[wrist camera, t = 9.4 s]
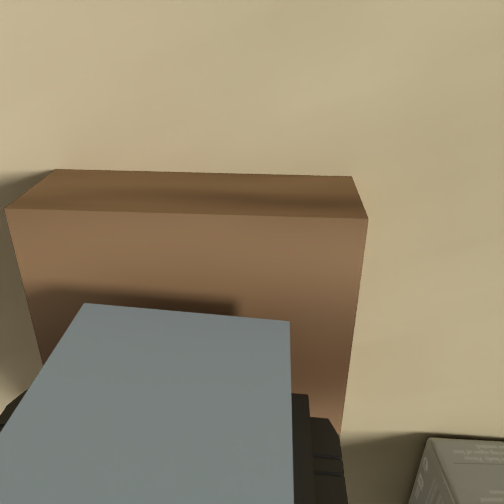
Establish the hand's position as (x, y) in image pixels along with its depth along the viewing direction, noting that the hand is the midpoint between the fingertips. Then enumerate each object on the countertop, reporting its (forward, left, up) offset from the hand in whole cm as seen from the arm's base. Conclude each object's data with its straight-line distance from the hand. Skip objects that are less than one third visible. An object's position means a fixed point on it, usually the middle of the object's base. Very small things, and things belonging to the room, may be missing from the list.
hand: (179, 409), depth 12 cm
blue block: (0, 0, -1) cm, 1 cm away
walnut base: (0, 0, -6) cm, 6 cm away
